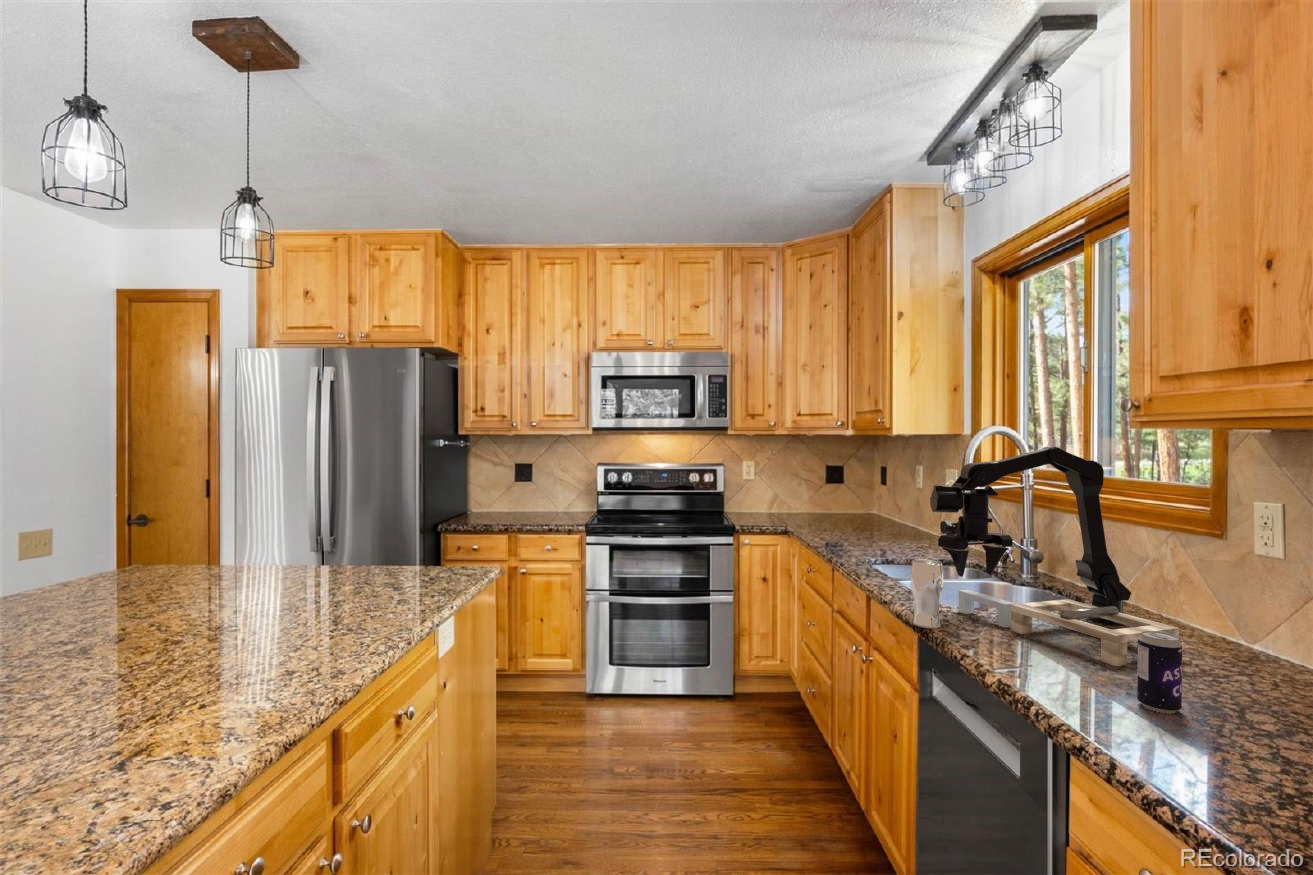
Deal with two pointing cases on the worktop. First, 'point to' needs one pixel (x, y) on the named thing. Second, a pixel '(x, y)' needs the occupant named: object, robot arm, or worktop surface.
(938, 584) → the beer glass
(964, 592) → the long white beam
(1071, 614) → the rod
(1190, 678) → the worktop surface
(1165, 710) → the beverage can
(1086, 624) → the shelf
